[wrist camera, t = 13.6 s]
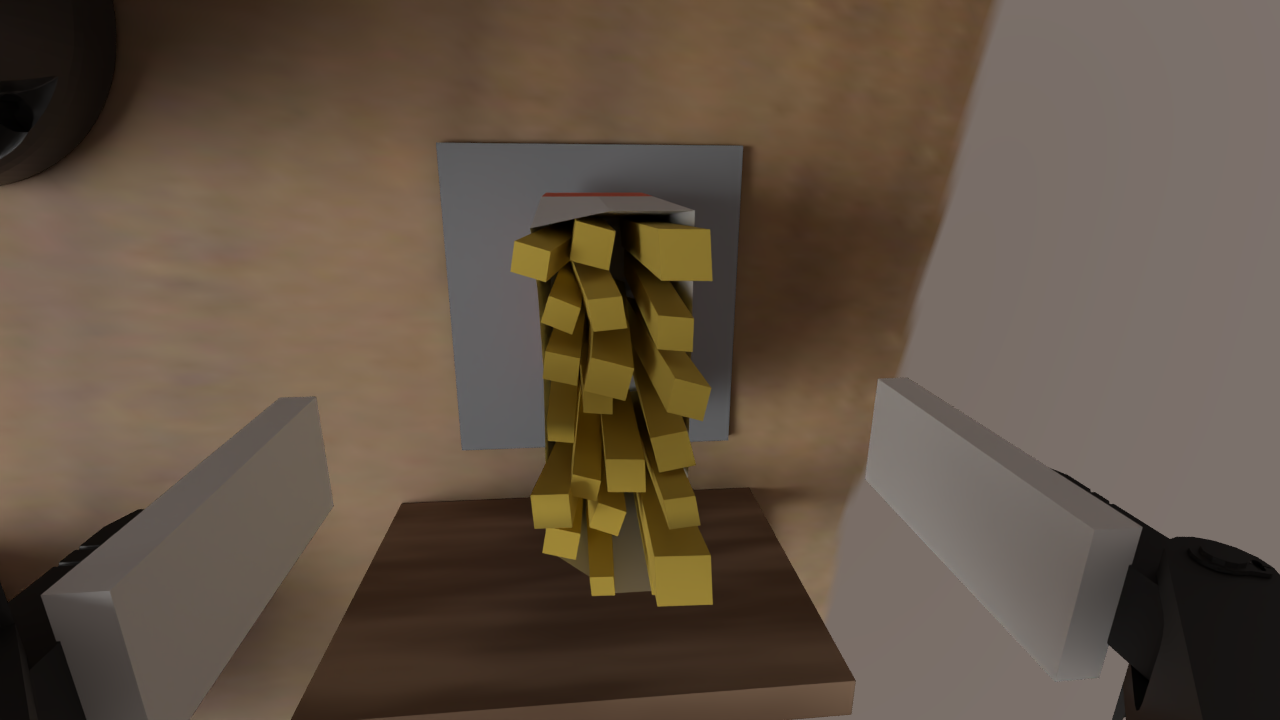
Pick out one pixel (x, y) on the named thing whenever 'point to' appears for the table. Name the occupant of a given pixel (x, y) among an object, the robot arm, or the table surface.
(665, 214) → the french fries container
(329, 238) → the table surface
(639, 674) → the offcut rack
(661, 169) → the slate mat
